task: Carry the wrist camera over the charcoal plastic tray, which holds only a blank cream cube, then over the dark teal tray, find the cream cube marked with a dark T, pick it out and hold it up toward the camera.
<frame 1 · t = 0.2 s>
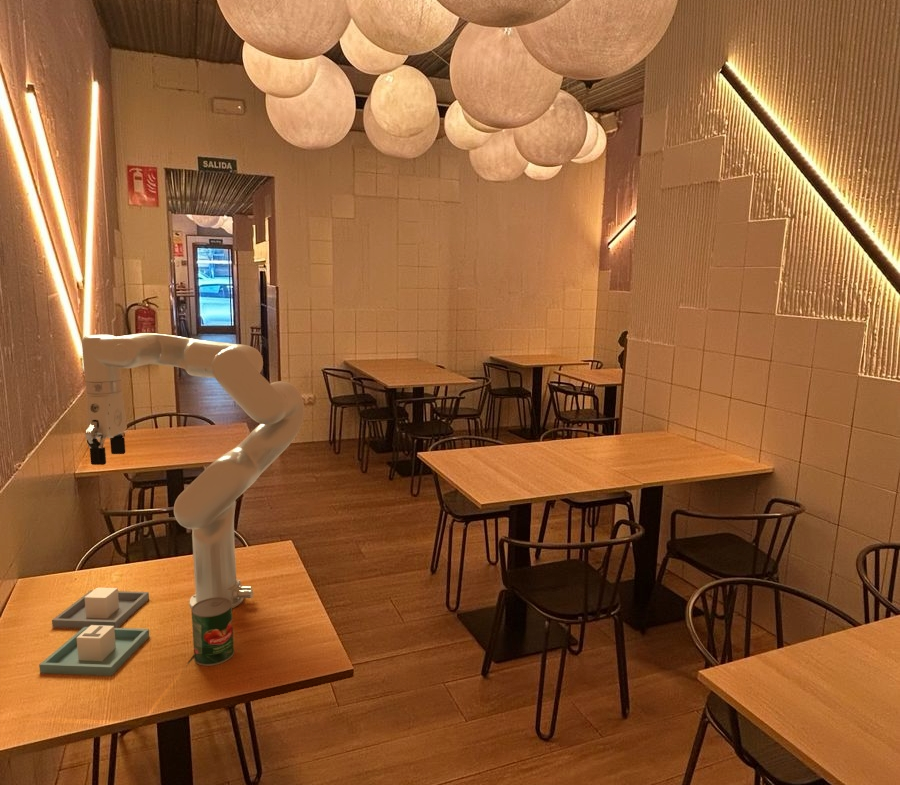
hand: (108, 458, 154), 36 cm above the table, tool pointing down, fingers open, 9 cm apart
charcoal tray: (103, 614, 153), on the table
teal tray: (97, 656, 135), on the table
blank cube: (103, 612, 153), point 1 cm above the table, touching charcoal tray
canned tomato: (214, 656, 136), on the table
letter cube: (97, 653, 135), point 1 cm above the table, touching teal tray
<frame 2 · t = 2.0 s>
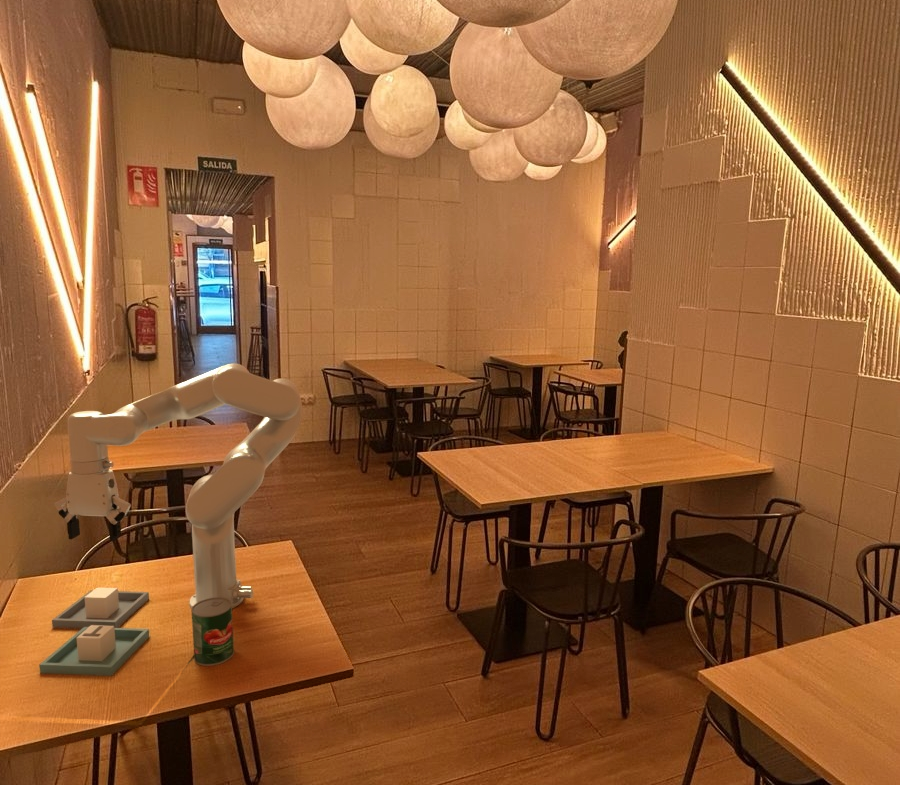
hand: (94, 538, 150), 19 cm above the table, tool pointing down, fingers open, 9 cm apart
nothing on the table moved.
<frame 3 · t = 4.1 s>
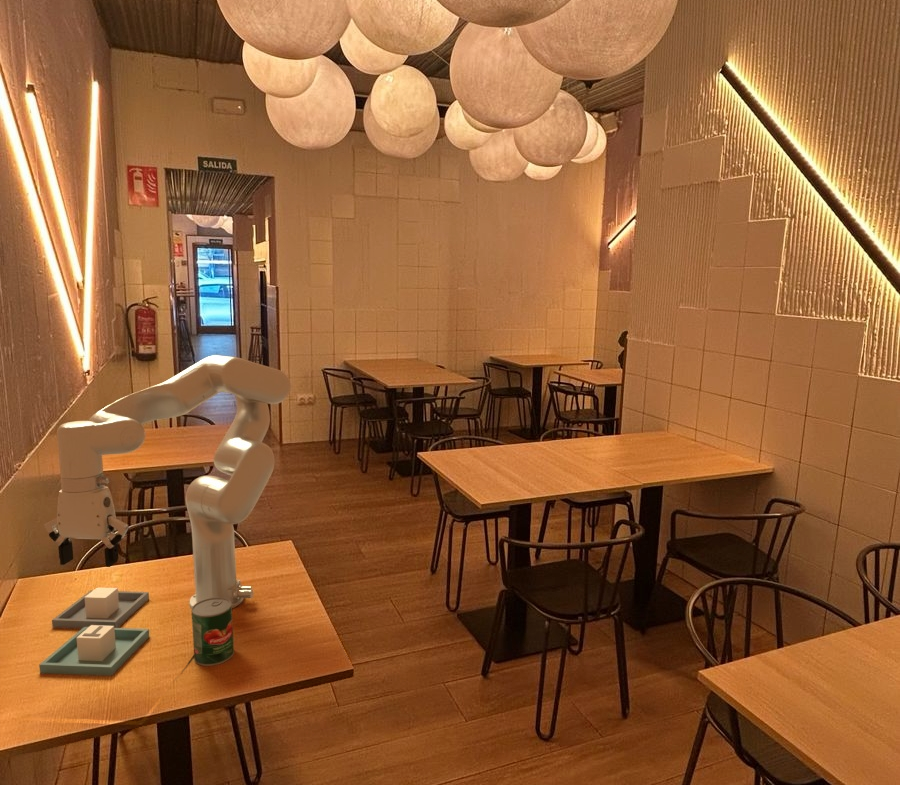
hand: (89, 563, 133), 20 cm above the table, tool pointing down, fingers open, 9 cm apart
nothing on the table moved.
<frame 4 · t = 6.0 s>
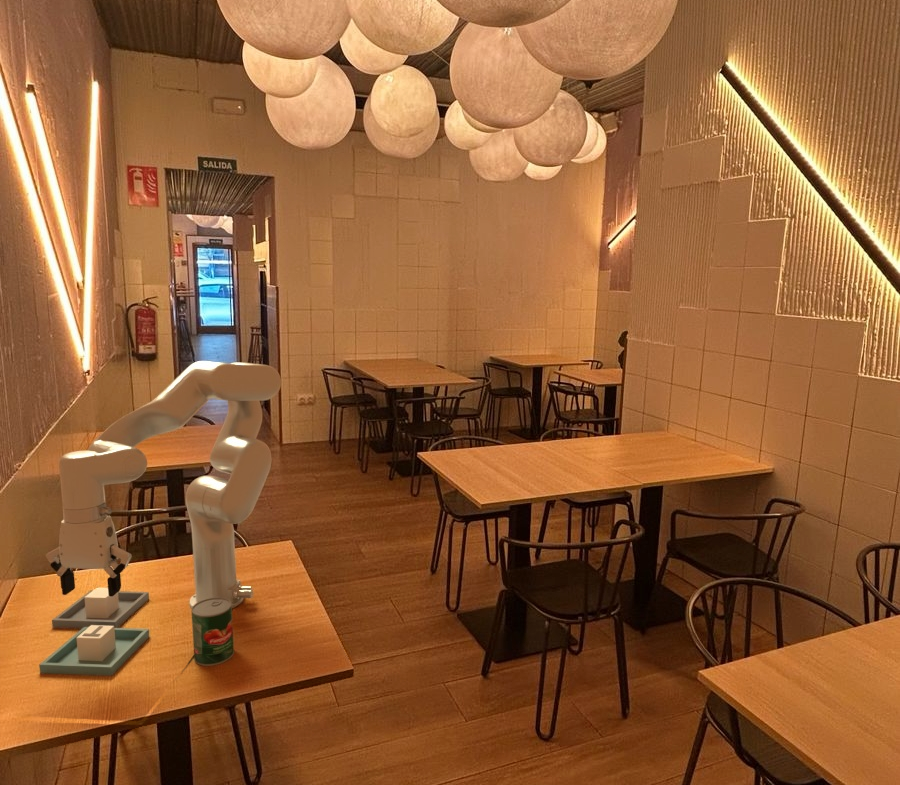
hand: (91, 592, 133), 14 cm above the table, tool pointing down, fingers open, 9 cm apart
nothing on the table moved.
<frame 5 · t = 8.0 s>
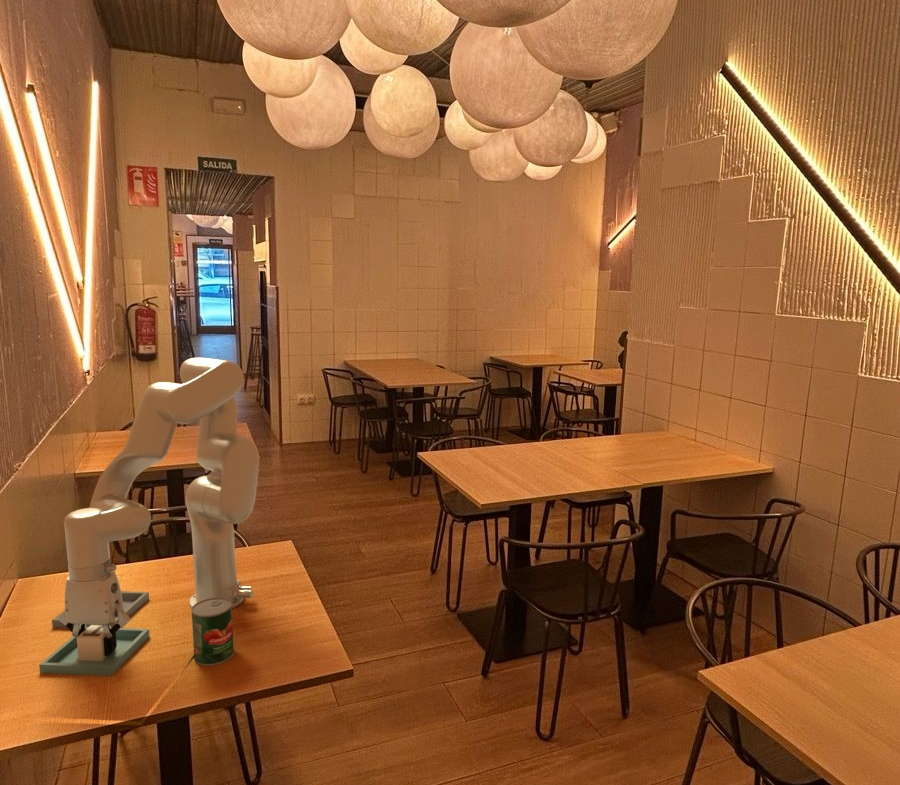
hand: (97, 651, 135), 1 cm above the table, tool pointing down, fingers closed on letter cube, 4 cm apart
letter cube: (97, 653, 135), point 1 cm above the table, touching gripper, teal tray
everything else where it was.
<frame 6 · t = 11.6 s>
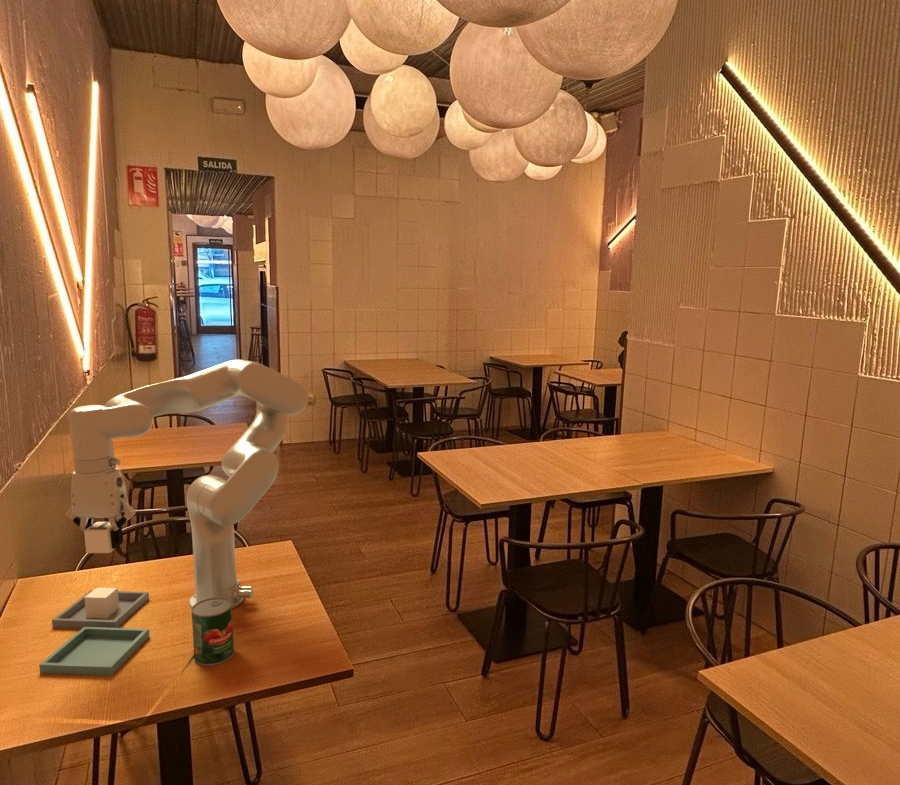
hand: (104, 545, 139), 21 cm above the table, tool pointing down, fingers closed on letter cube, 4 cm apart
letter cube: (104, 548, 139), point 21 cm above the table, touching gripper
everything else where it was.
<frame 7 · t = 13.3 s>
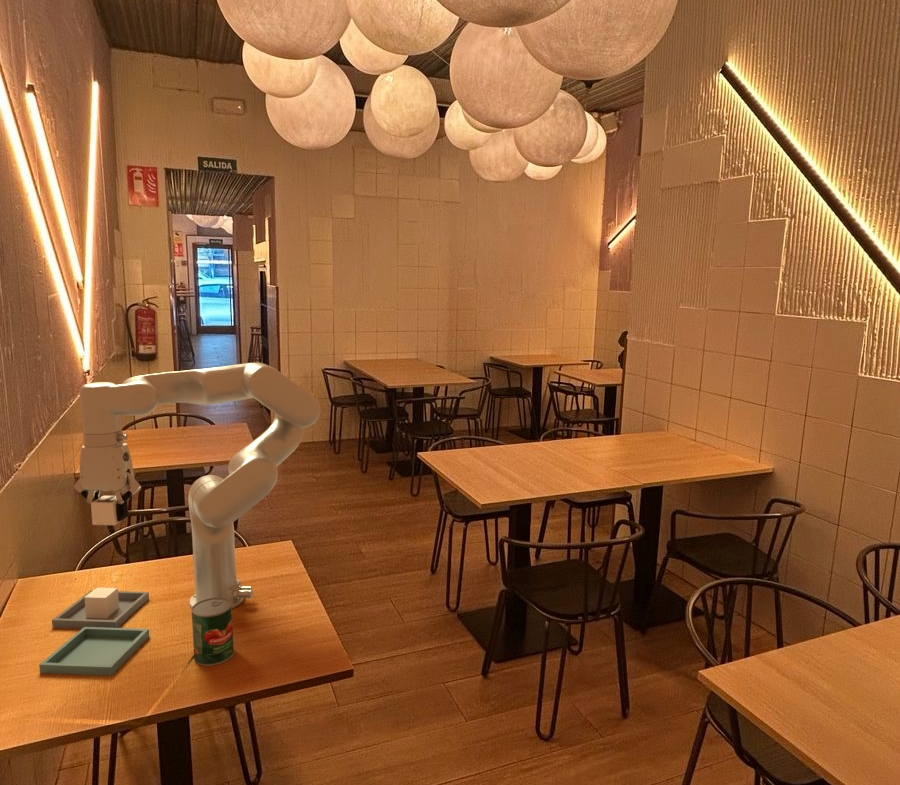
hand: (109, 518, 144), 25 cm above the table, tool pointing down, fingers closed on letter cube, 4 cm apart
letter cube: (110, 520, 145), point 25 cm above the table, touching gripper
everything else where it was.
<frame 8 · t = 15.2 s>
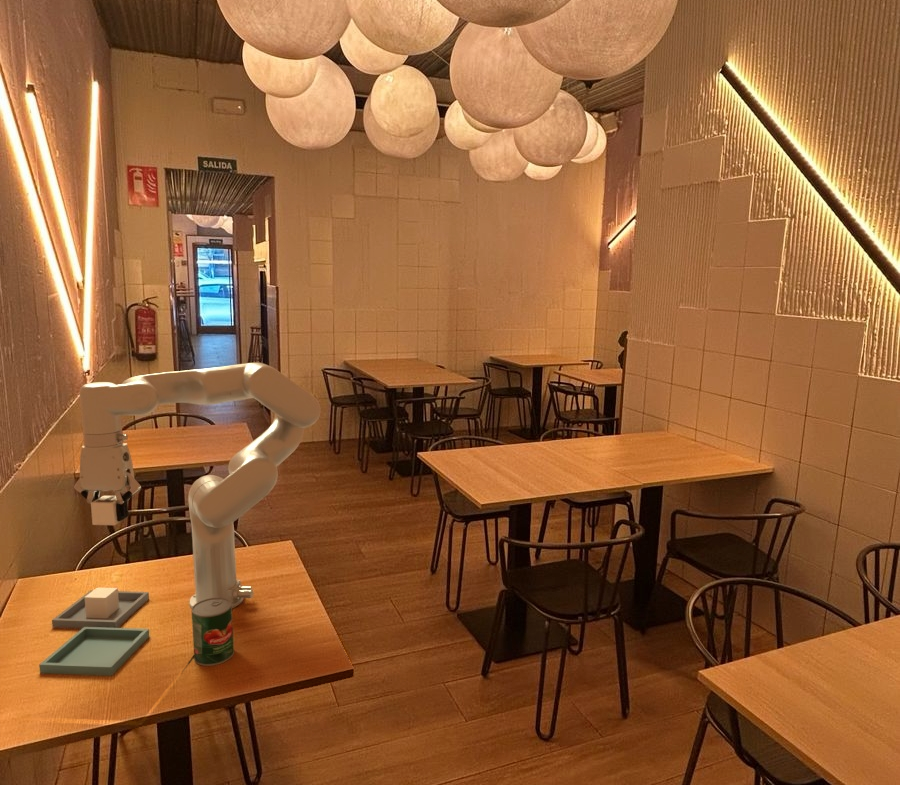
hand: (109, 518, 144), 25 cm above the table, tool pointing down, fingers closed on letter cube, 4 cm apart
letter cube: (110, 520, 145), point 25 cm above the table, touching gripper
everything else where it was.
at the end: the gripper is holding letter cube; letter cube point 24.7 cm above the table; blank cube moved 0.0 cm from its start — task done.
